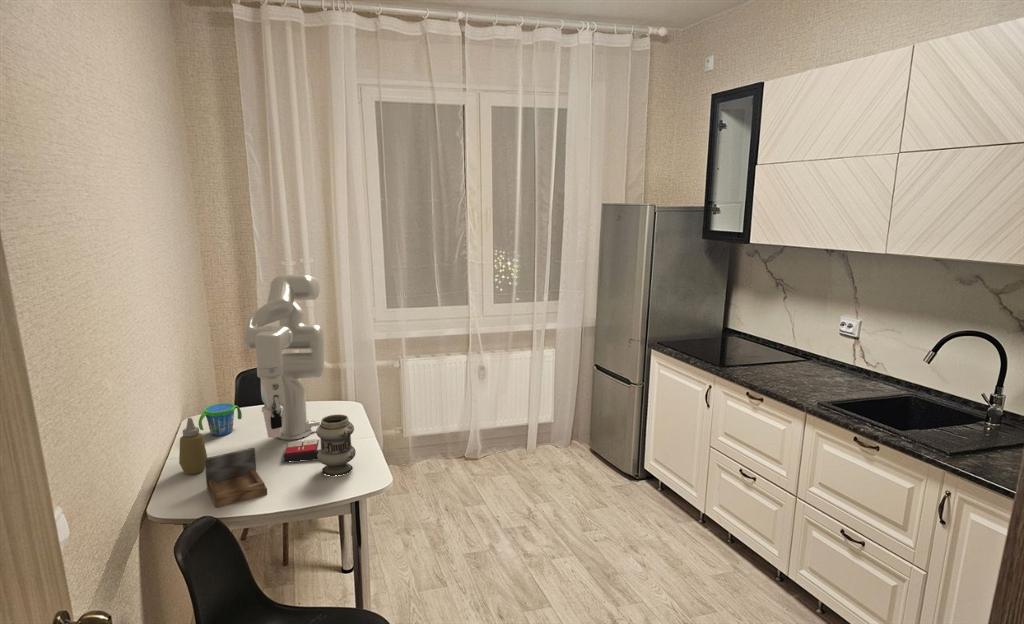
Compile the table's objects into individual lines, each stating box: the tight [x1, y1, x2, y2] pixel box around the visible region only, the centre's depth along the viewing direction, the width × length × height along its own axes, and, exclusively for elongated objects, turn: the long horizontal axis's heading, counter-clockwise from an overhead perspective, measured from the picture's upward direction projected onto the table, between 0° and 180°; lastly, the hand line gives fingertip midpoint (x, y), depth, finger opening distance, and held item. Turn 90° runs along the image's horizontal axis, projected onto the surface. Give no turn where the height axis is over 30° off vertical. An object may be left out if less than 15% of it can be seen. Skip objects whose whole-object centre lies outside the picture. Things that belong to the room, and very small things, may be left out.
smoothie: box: [261, 405, 283, 439], centre depth 186 cm, size 6×6×14 cm
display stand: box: [204, 447, 268, 508], centre depth 175 cm, size 14×14×10 cm
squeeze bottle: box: [178, 417, 208, 475], centre depth 188 cm, size 8×8×18 cm
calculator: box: [283, 438, 321, 463], centre depth 203 cm, size 11×4×15 cm
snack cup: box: [198, 402, 243, 437], centre depth 221 cm, size 16×10×10 cm
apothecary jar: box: [315, 413, 356, 477], centre depth 190 cm, size 12×12×18 cm
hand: (273, 423), depth 186 cm, fingers closed on smoothie, 6 cm apart
